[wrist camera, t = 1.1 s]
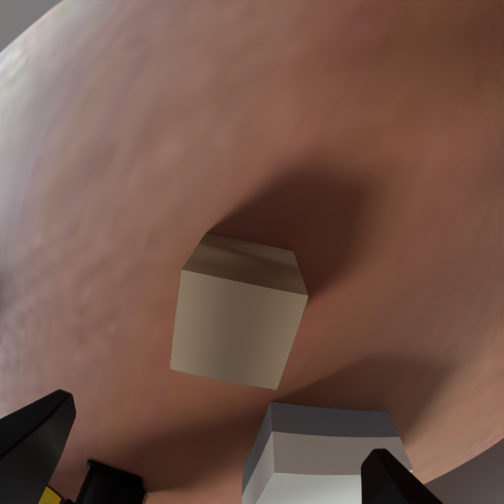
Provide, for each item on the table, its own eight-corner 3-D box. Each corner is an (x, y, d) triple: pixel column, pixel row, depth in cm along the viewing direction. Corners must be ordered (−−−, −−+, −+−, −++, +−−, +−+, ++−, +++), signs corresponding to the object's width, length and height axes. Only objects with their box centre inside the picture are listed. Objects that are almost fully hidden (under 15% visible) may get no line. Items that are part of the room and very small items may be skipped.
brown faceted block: (193, 309, 19) (170, 368, 14) (206, 232, 18) (181, 269, 12) (272, 326, 19) (276, 389, 14) (293, 250, 18) (308, 295, 12)
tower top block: (242, 495, 21) (240, 527, 18) (272, 431, 18) (274, 472, 15) (346, 499, 22) (352, 527, 18) (399, 436, 19) (413, 470, 16)
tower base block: (243, 466, 25) (241, 495, 21) (270, 397, 22) (271, 431, 18) (340, 472, 25) (346, 499, 22) (386, 407, 22) (398, 436, 19)
